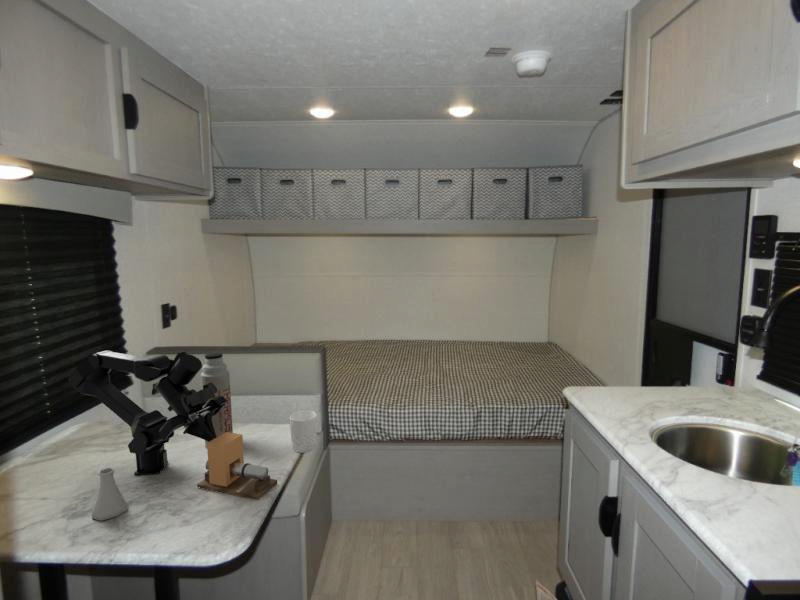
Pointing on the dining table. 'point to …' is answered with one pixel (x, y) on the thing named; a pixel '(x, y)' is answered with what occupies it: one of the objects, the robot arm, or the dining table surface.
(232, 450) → the tan block
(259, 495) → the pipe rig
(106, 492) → the flask
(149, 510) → the dining table surface
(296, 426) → the white cup
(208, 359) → the thermos bottle
